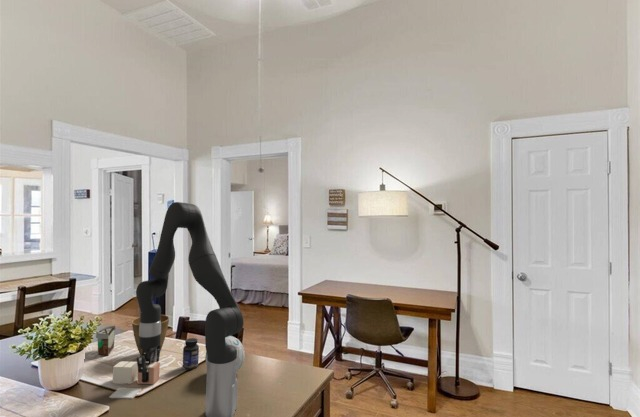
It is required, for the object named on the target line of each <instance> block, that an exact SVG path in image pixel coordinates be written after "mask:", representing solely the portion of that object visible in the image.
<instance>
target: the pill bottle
mask: <svg viewBox="0 0 640 417" xmlns="http://www.w3.org/2000/svg"><path fill="white" fill-rule="evenodd" d="M184 343H185V345H184V346H183V348H182V368H183V369H184V370H187V371H188V370H189V371H191V370H194V369H196V368H198V367H199V358H200V357H199V355H200V353H199V352H200V350H199V349H200V346H199V344H198V339H197V338H196V337H195V338H194V337H192V338H190V337H189V338H187V339H185V342H184Z"/></svg>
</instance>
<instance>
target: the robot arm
mask: <svg viewBox="0 0 640 417" xmlns="http://www.w3.org/2000/svg"><path fill="white" fill-rule="evenodd" d="M164 215H165V216H164V219H163V224H162V228H161V233H160V236H159V242H158V246H157V249H156V253H155V255H154V257H153V259H152V262H151V264H150V267H149V270H148V274H149V275H150V276H151V277H153V279H149V280H144V281H142V282H140V283H138V285H137V287H136V290H135V293H136V294H135V296H136V300H137V303H138V307H139V310H140V312H139V313H140V314H139V315H140V316H139V317H140V326H139V347H140V348H141V349H142V354H141V356H140V357H137V358H136V362H137V366H138V372H139V373H142V382H148V381H149V367H150V365H151V363H152V362H158V363H159V360H160V354H161V351H160V349H161V350H162V348H161V345H160V344H161V315H162V308H161V305H160V304H157V303H153V299H156V298H157V299H158V298H160V297H162V296H163V295H164V294H165V293H166V291H167V289H168V283H169V277H170V275H169V273H170V272H171V269H172V267H173V264H174V262H175V260H176V251H175V244H174V238H175V234H176V232H177V230H178V229H186V230H187V231H188V233H189V235H190V238H191V246H190V250H189V253H188V258H187V259H188V260H187V261H188V265H189V267H190V271H191V273H192V276H193V278H194V280H195V281H196V282H197V284H199V285H200V286H201V287H202V288H203V289H204V290H205V291H207V292H208V293H209V294H210V295H211V296H212V297H213V298H214V300H215V301H216V304H217V305H218V308H215V309H213V310H210V311H209V312H208V313H207V314H206V317H205V321H204V322H205V324H204V336H205V337H204V338H205V345H204V346H205V351H206V352H207V365H206V380H205V381H206V385H205V386H206V387H205V389H206V390H205V416H206V417H234V414H235V412H236V411H235V410H237V408H238V382H239V379H238V378H237V372H236V367H237V349H236V347H234V346H232V345H228V344H226V343H225V337H228V336H233V335H236V334H238V333H240V332H241V331H242V330H243V328H244V324H245V322H244V316H243V313H242V311H241V308H240V307H239V304H238V303H237V301H236V299H235V297H234V295H233V293H232V291H231V290H230V287H229V284H228V283H227V281H226V279H225V276H224V274H223V270H222V269H221V266H220V263H219V260H218V258H217V255H216V253H215V251H214V248H213V245H212V244H211V241H210V238H209V235H208V231H207V229H206V226H205V222H204V218H203V214H202V211H201V210H200V208H199V207H198V206H197V204H193V203H188V202H187V203H186V202H180V201H175V202H172V203H171V204H170V205H169V206H168V208H167V210H166V212H165V214H164ZM206 352H205V353H206ZM146 362H149V363H146ZM146 365H147V369H146Z"/></svg>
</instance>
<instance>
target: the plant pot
mask: <svg viewBox="0 0 640 417" xmlns="http://www.w3.org/2000/svg"><path fill="white" fill-rule="evenodd" d="M169 322H170V316H168V315H166V314H161V344H160V345H161V349H160V352H161V351H162V349H163V345H164V343H165V340H166V336H167V333H168V328H169ZM131 324H132V326H131V327H132V333H133V337H134V342H135V344H136V348H137V351H138V352H139V355H140V357H141V354H142V349H141V348H140V347H139V326H140V316H139V317H137V318H134V319H132V321H131Z"/></svg>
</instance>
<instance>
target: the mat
mask: <svg viewBox="0 0 640 417" xmlns="http://www.w3.org/2000/svg"><path fill="white" fill-rule="evenodd" d="M141 389H142V388H132V387H129V388H128V387H127V388H126V387H125V388H124V387H119V388H118V389H116V390H115V391H114V392H113V393H112V394H111V395H109V397H108V398H109V399H131V400H132V399H134V398H135V397H137V395H138V394H139V393H140V392H141V391H142V390H141ZM140 390H141V391H140ZM139 391H140V392H139ZM138 392H139V393H138ZM137 393H138V394H137ZM136 394H137V395H136Z"/></svg>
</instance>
